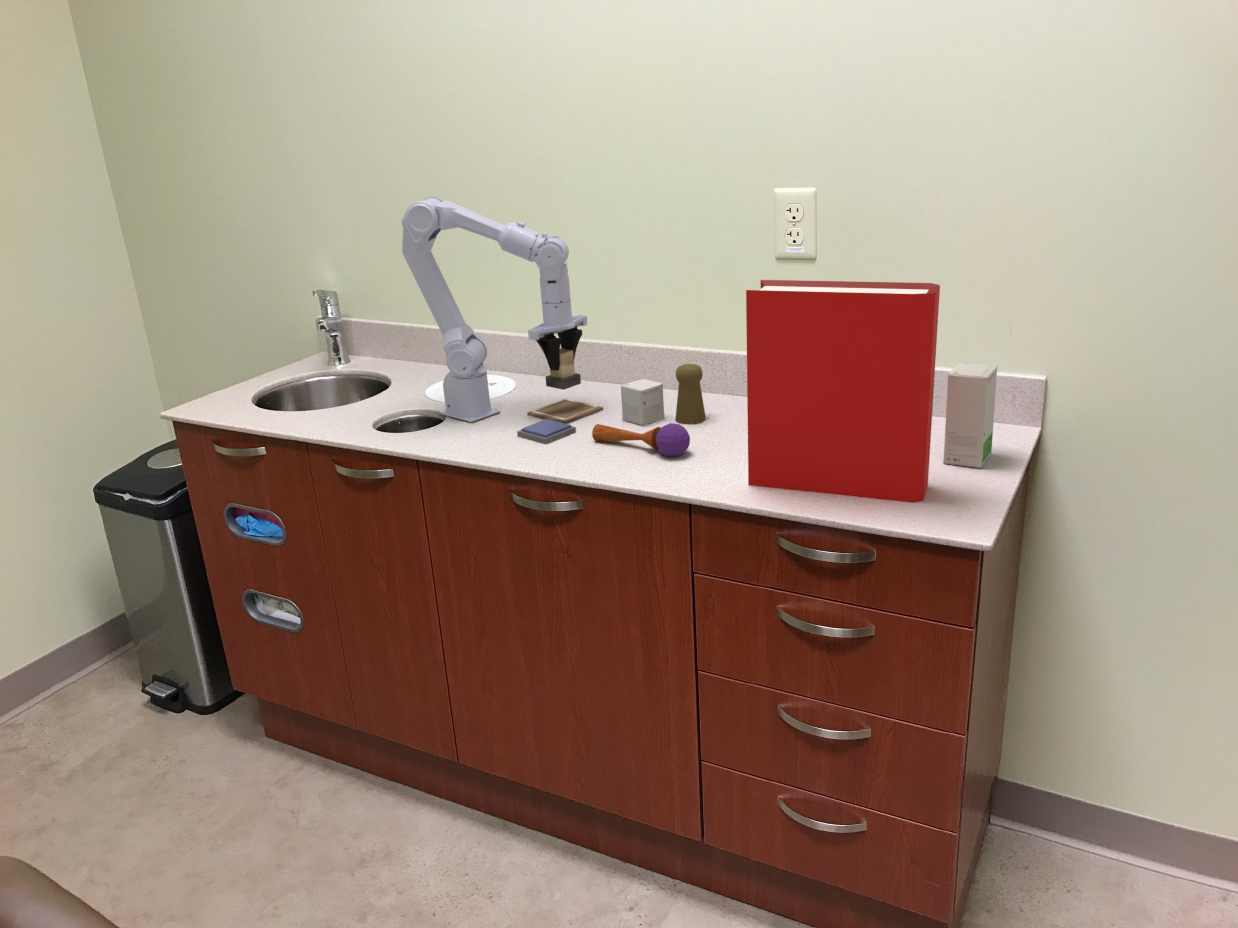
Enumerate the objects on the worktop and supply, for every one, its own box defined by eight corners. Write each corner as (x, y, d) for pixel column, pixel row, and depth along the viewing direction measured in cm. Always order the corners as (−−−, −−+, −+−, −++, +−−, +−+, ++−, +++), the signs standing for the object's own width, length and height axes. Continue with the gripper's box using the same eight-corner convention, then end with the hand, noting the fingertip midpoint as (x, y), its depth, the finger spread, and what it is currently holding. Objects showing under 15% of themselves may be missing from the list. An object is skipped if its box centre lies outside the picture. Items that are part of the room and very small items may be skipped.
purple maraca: (607, 415, 183) (696, 422, 171) (607, 446, 184) (696, 455, 172) (587, 418, 178) (677, 426, 167) (587, 450, 180) (677, 460, 168)
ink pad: (517, 436, 186) (516, 428, 186) (547, 424, 192) (546, 417, 191) (546, 444, 181) (545, 436, 181) (576, 432, 187) (575, 424, 186)
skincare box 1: (642, 426, 188) (640, 390, 185) (621, 420, 192) (619, 385, 189) (665, 418, 191) (663, 383, 189) (644, 412, 196) (642, 377, 193)
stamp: (546, 386, 196) (543, 352, 194) (563, 380, 199) (560, 347, 197) (563, 389, 193) (560, 355, 190) (581, 383, 196) (578, 350, 194)
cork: (704, 424, 186) (702, 369, 182) (673, 424, 188) (670, 369, 184) (707, 414, 192) (706, 361, 188) (677, 414, 193) (675, 361, 189)
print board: (527, 415, 198) (527, 411, 198) (565, 401, 206) (565, 397, 205) (565, 424, 191) (564, 420, 191) (603, 409, 199) (602, 406, 198)
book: (748, 485, 157) (746, 290, 146) (761, 467, 164) (760, 279, 152) (922, 503, 146) (934, 294, 135) (928, 484, 153) (941, 283, 142)
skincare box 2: (980, 469, 157) (988, 378, 152) (939, 463, 161) (945, 373, 155) (992, 452, 164) (1000, 364, 158) (952, 447, 167) (958, 360, 162)
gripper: (543, 310, 183) (549, 379, 187) (596, 295, 192) (600, 361, 197) (518, 306, 187) (525, 373, 192) (571, 292, 197) (576, 357, 202)
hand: (561, 367), depth 195 cm, fingers closed on stamp, 3 cm apart
